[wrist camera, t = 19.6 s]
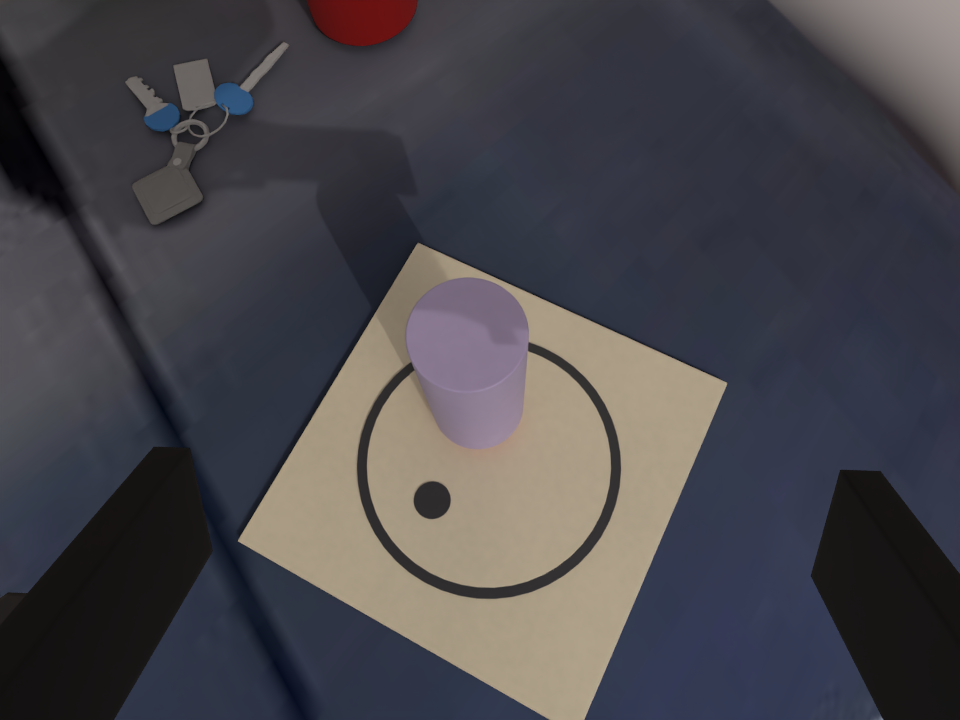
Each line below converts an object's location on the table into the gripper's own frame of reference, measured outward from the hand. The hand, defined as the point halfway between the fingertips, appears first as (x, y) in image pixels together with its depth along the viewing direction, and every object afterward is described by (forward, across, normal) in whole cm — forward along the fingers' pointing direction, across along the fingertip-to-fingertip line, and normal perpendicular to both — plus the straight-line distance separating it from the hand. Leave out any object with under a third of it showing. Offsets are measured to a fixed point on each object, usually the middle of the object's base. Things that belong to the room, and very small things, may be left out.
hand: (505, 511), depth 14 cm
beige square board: (+17, -1, -11) cm, 20 cm away
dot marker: (+19, -2, -9) cm, 21 cm away
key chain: (+31, -20, +3) cm, 38 cm away
